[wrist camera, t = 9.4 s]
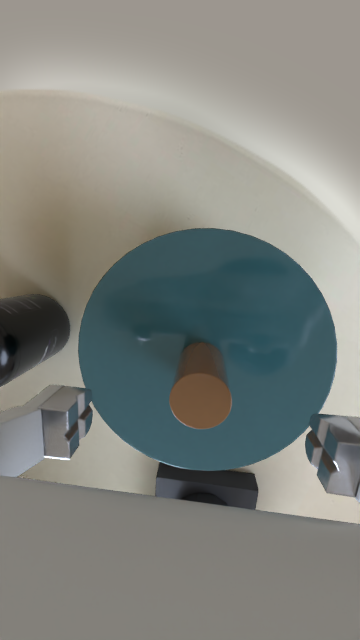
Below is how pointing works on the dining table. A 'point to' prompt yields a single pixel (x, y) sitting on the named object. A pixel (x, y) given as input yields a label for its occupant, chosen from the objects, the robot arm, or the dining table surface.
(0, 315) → the supplement bottle
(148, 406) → the jar lid
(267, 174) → the dining table surface
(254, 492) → the box
